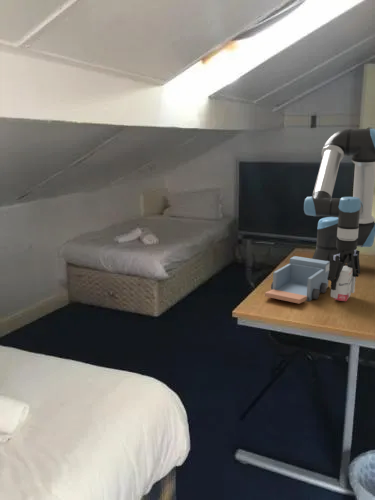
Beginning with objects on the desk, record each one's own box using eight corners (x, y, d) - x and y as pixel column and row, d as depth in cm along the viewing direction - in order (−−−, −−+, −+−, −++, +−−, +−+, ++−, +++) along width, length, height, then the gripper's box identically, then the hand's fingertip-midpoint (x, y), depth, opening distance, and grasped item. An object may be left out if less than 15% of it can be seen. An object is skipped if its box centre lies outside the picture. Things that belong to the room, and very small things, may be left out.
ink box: (346, 302, 178) (348, 272, 175) (333, 299, 181) (335, 270, 178) (351, 295, 186) (353, 266, 183) (338, 293, 188) (340, 264, 185)
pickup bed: (289, 279, 207) (290, 255, 204) (331, 287, 196) (333, 262, 194) (268, 293, 190) (269, 266, 187) (313, 302, 180) (315, 274, 177)
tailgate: (273, 289, 187) (264, 292, 181) (307, 295, 179) (299, 299, 173) (272, 293, 188) (264, 297, 181) (306, 300, 180) (299, 304, 174)
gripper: (356, 232, 186) (352, 286, 192) (319, 240, 174) (315, 297, 180) (373, 236, 180) (368, 291, 186) (336, 244, 168) (332, 303, 174)
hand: (342, 294), depth 183 cm, fingers closed on ink box, 9 cm apart
